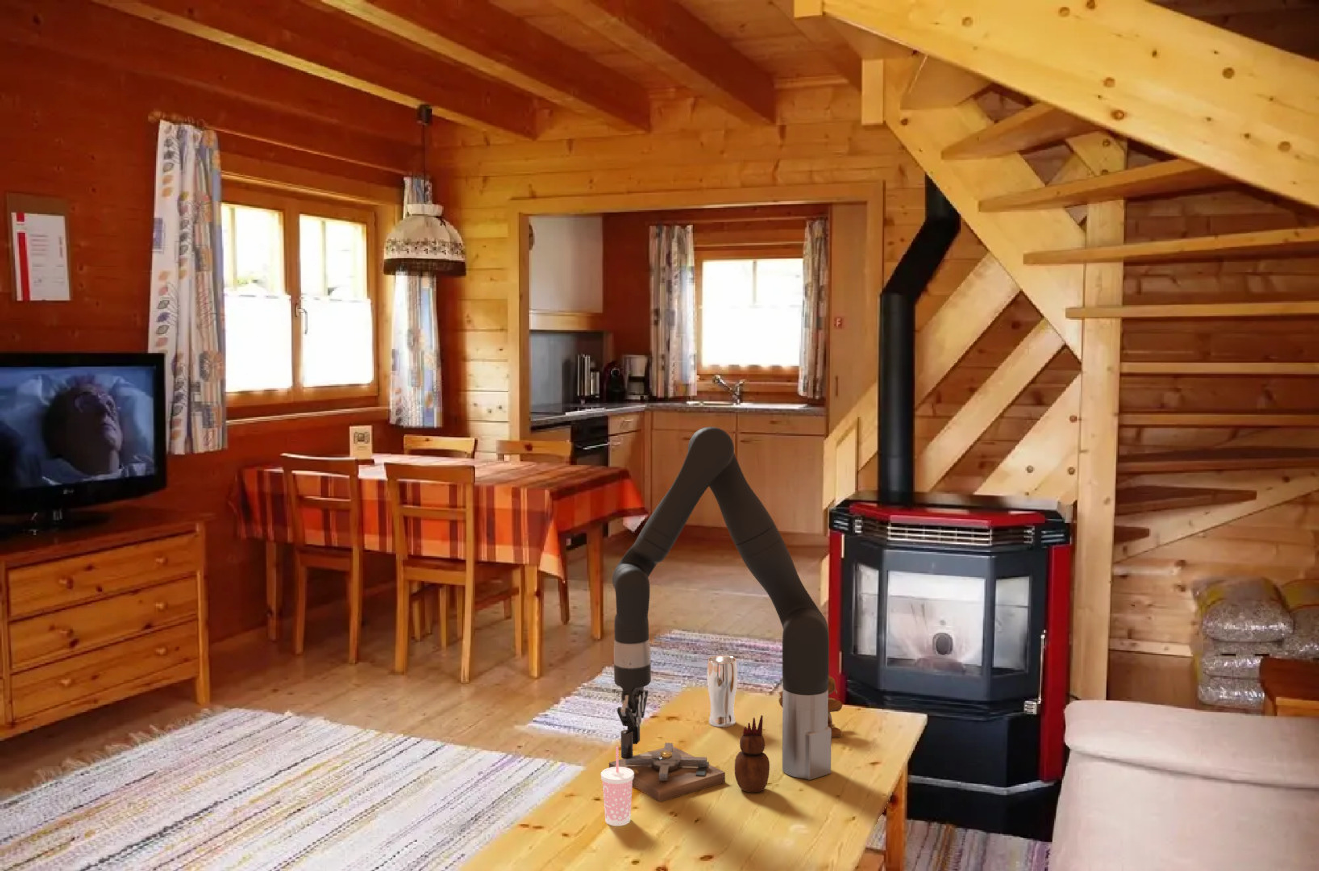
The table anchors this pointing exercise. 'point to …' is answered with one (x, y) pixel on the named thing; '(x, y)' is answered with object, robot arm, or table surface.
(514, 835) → the table surface
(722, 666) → the beer glass
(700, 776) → the stand
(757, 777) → the wooden figurine
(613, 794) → the beverage cup
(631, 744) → the capstan
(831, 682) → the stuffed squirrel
